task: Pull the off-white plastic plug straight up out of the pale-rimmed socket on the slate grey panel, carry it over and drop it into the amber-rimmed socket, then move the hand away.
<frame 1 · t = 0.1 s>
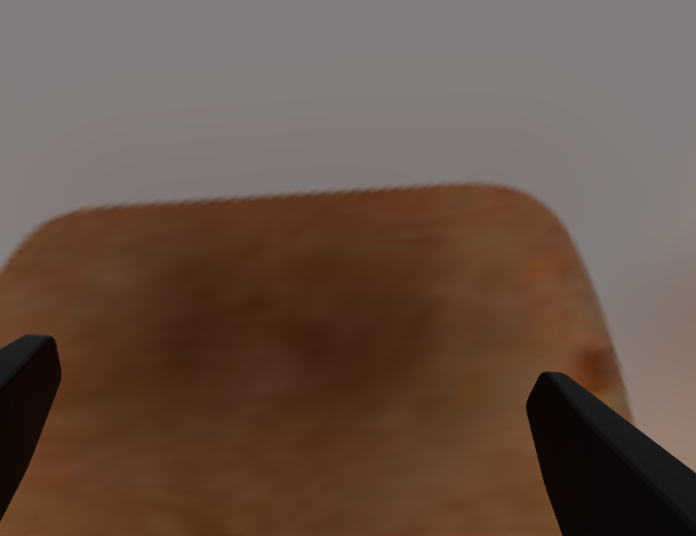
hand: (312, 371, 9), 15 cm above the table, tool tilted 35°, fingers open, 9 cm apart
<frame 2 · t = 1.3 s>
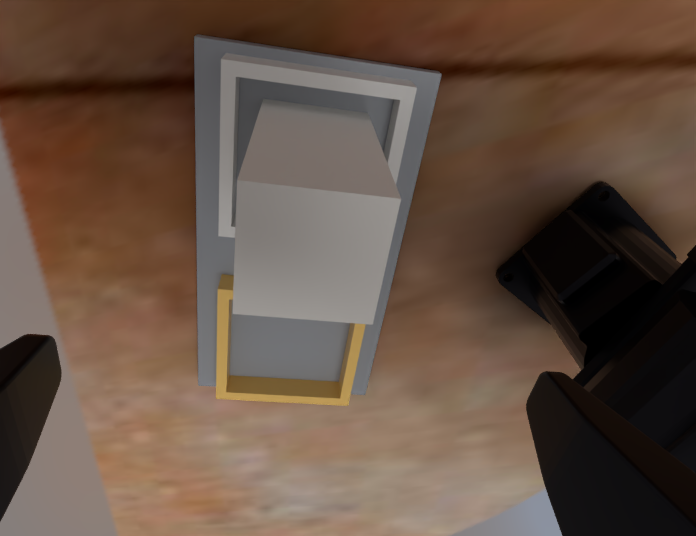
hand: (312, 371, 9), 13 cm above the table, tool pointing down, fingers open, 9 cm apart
plug: (310, 156, 20), point 1 cm above the table, touching socket panel
socket panel: (299, 249, 23), on the table
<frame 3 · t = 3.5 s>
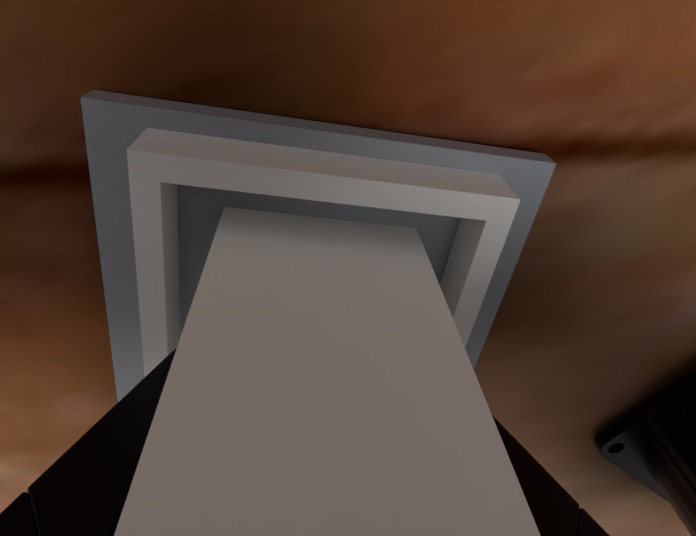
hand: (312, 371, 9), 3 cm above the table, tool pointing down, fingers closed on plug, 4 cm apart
plug: (311, 296, 11), point 1 cm above the table, touching gripper, socket panel
socket panel: (291, 416, 14), on the table
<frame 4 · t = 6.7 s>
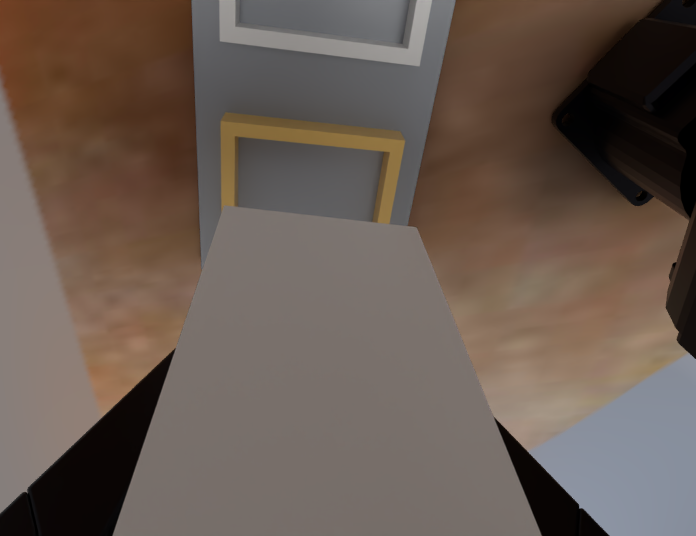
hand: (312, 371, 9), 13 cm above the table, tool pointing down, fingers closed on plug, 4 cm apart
plug: (311, 295, 11), point 11 cm above the table, touching gripper
socket panel: (317, 83, 19), on the table
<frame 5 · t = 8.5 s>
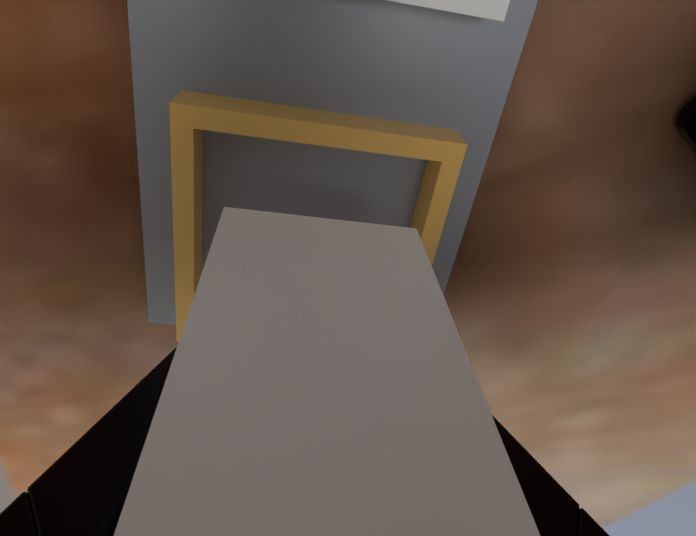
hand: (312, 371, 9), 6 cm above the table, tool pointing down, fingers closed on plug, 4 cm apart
plug: (311, 296, 11), point 4 cm above the table, touching gripper
socket panel: (330, 49, 12), on the table
when the fingers open (4 cm above the table, at t = 9.9 s): plug stays where it is, resting on socket panel.
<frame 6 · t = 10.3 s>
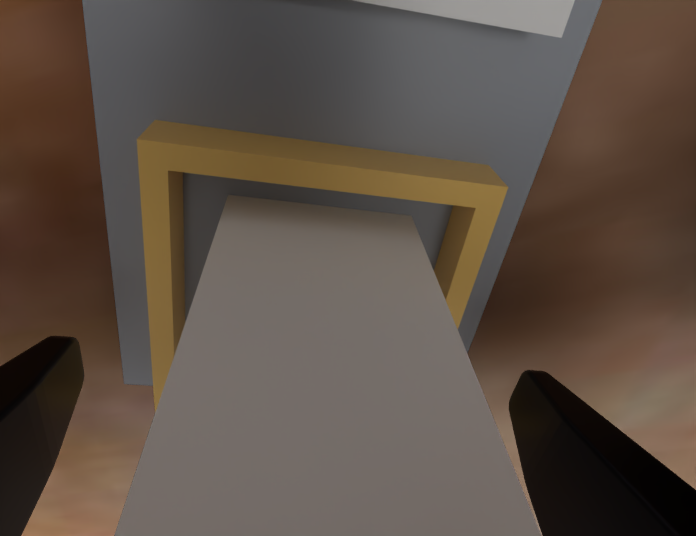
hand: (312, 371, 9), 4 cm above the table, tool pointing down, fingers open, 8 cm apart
plug: (311, 281, 12), point 1 cm above the table, touching socket panel
socket panel: (338, 69, 10), on the table
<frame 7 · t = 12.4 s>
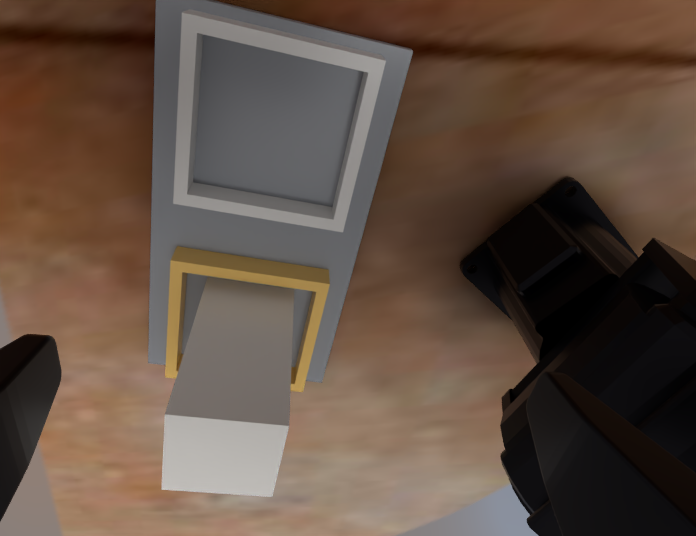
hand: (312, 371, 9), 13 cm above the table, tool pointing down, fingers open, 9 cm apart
plug: (246, 316, 24), point 1 cm above the table, touching socket panel
socket panel: (259, 226, 22), on the table
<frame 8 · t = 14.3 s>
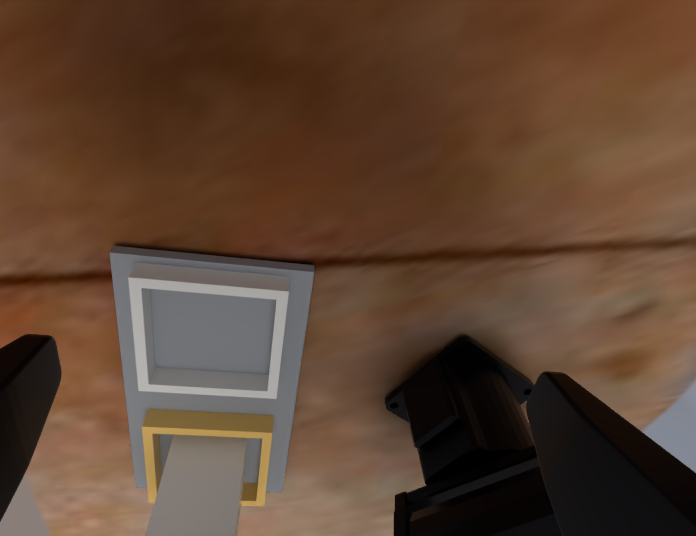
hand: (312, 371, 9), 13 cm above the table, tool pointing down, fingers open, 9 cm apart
plug: (211, 451, 29), point 1 cm above the table, touching socket panel
socket panel: (214, 387, 27), on the table
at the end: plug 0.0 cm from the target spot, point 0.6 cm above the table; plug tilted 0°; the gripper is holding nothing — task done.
